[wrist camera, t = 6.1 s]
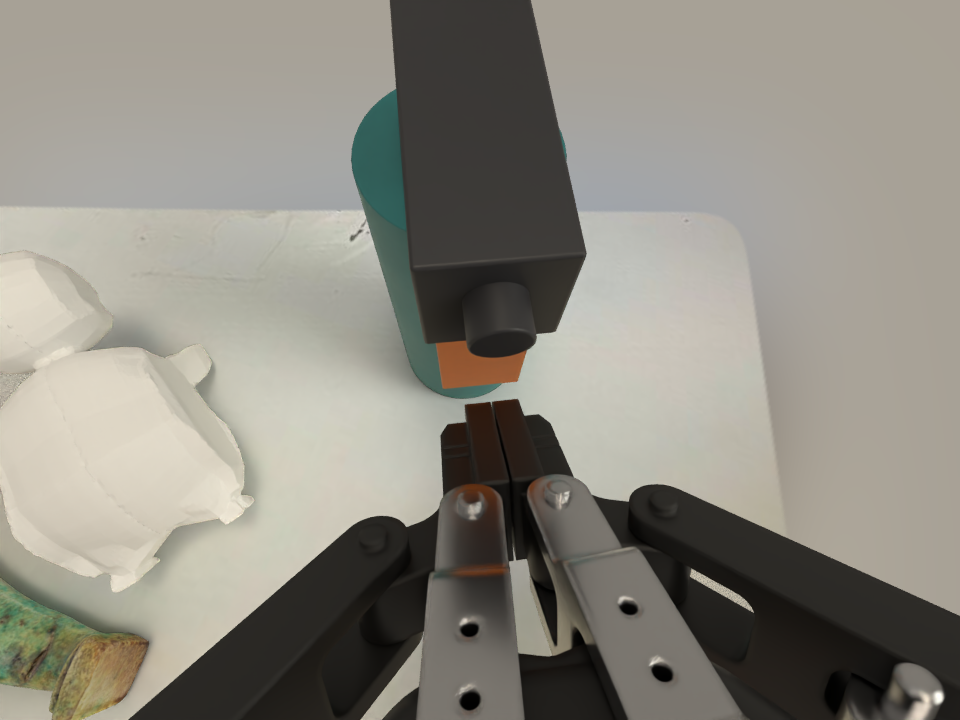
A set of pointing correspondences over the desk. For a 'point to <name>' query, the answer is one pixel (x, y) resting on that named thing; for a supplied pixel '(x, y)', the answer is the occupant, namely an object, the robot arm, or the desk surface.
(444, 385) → the spray trigger
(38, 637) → the figurine
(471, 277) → the spray bottle
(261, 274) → the desk surface
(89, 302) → the penguin
